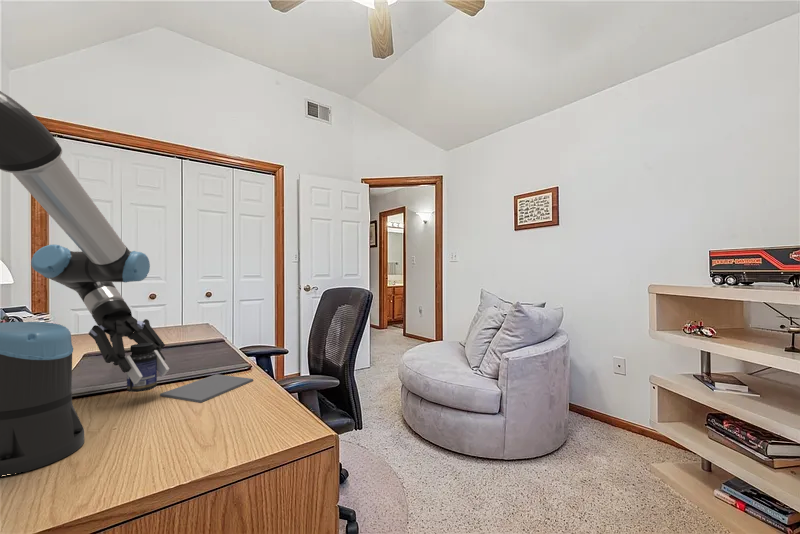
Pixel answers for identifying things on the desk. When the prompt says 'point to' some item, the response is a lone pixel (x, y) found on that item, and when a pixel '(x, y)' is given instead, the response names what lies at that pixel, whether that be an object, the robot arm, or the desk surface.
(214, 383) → the desk mat
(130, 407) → the desk surface
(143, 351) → the pill bottle
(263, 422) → the desk surface
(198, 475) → the desk surface
